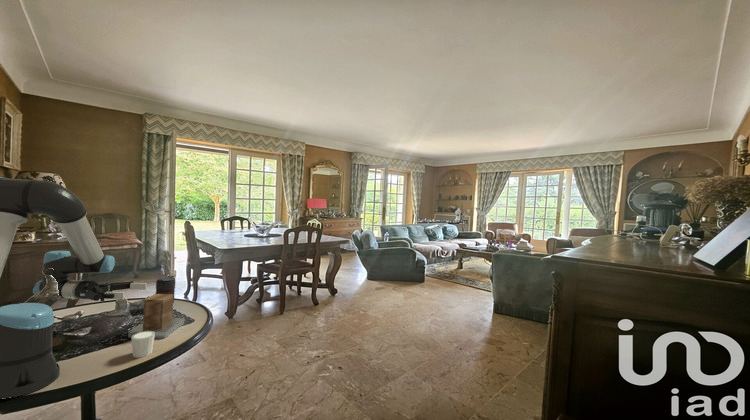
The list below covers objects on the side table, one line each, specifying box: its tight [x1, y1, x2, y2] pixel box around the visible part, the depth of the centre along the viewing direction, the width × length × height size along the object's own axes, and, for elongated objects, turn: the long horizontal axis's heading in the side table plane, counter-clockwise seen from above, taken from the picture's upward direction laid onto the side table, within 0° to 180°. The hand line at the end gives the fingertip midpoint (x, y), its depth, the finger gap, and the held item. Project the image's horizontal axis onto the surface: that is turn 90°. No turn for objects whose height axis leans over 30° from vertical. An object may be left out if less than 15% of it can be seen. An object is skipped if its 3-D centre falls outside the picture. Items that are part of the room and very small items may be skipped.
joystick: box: [127, 317, 185, 339], centre depth 126 cm, size 14×14×10 cm
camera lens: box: [155, 276, 176, 304], centre depth 151 cm, size 8×8×15 cm
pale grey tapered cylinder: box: [131, 331, 155, 359], centre depth 108 cm, size 7×7×7 cm
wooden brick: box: [142, 293, 174, 328], centre depth 126 cm, size 7×7×12 cm
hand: (135, 290), depth 125 cm, fingers open, 13 cm apart
